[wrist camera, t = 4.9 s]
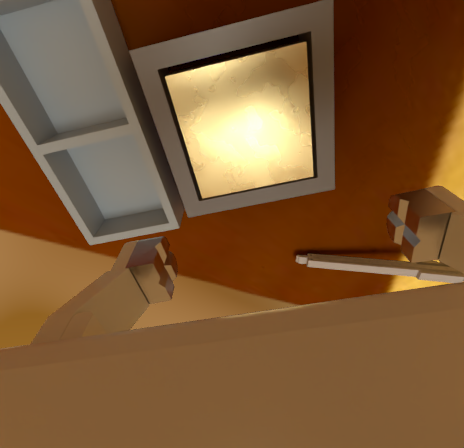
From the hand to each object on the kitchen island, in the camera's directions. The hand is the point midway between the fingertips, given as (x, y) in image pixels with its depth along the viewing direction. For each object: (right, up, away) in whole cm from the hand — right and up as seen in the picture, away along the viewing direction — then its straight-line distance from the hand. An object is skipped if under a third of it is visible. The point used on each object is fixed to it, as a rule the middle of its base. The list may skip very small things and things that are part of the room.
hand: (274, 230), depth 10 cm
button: (0, +10, +15) cm, 18 cm away
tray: (-14, +9, +16) cm, 23 cm away
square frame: (0, +10, +15) cm, 18 cm away
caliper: (+16, -3, +25) cm, 30 cm away
